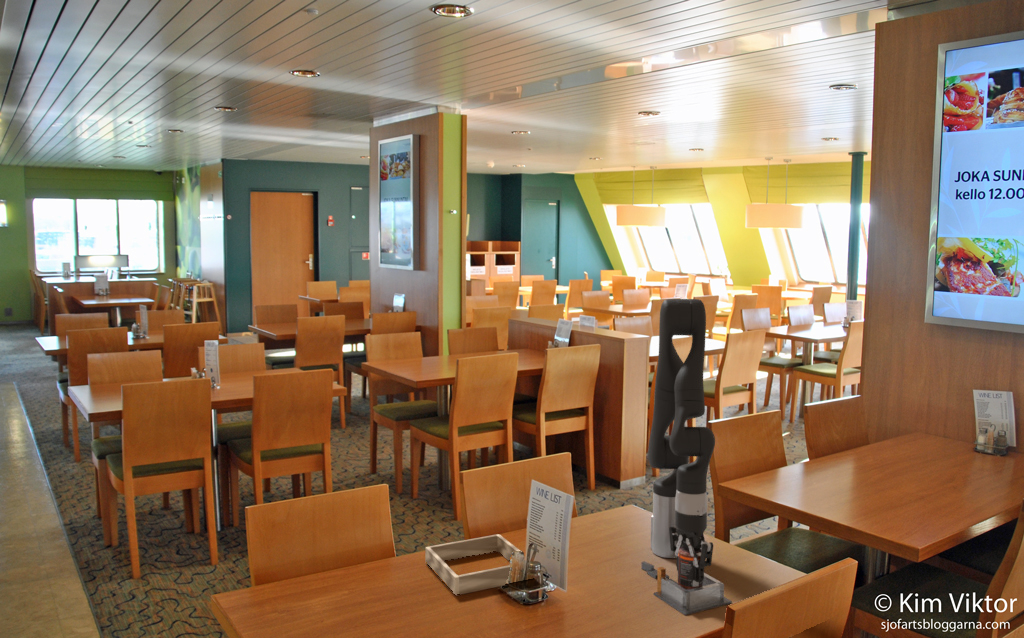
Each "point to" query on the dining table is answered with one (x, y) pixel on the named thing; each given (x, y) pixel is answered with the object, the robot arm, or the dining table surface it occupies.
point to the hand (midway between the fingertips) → (689, 575)
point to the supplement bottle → (687, 568)
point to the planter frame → (468, 548)
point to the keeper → (690, 594)
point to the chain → (652, 570)
